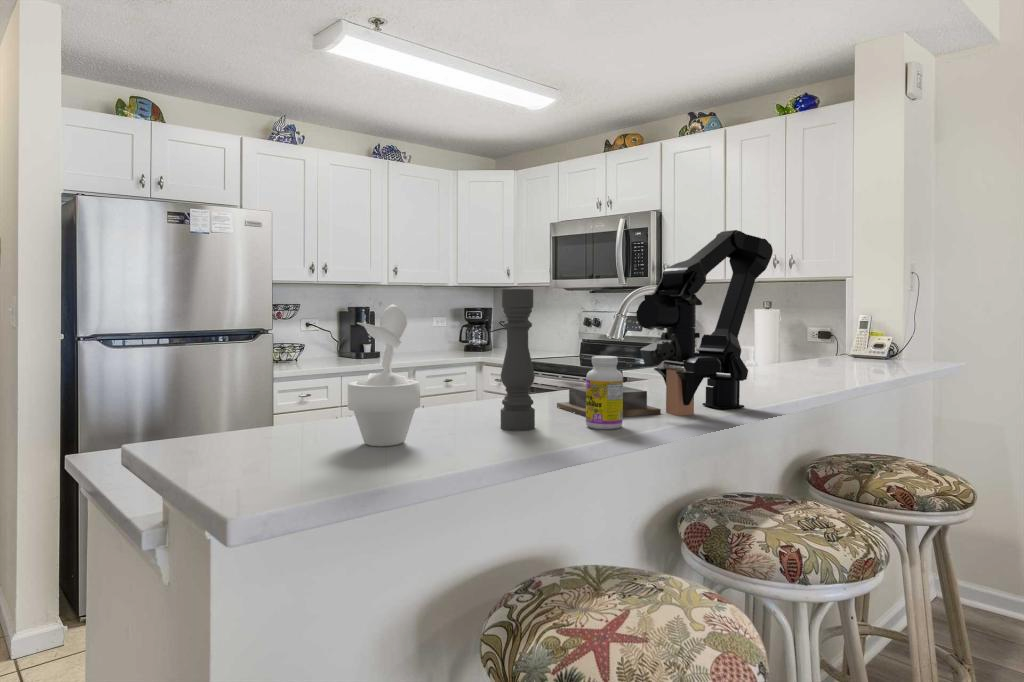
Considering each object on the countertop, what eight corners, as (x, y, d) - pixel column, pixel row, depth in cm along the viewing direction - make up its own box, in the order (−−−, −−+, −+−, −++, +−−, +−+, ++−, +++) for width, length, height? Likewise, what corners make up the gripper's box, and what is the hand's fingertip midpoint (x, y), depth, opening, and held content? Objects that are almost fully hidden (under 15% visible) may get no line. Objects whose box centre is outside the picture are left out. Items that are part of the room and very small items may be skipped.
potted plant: (379, 433, 113) (377, 288, 112) (434, 440, 108) (433, 287, 107) (326, 447, 102) (324, 286, 101) (385, 455, 97) (383, 285, 96)
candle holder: (540, 429, 117) (540, 289, 116) (508, 431, 115) (507, 288, 114) (526, 423, 123) (526, 290, 122) (495, 425, 121) (495, 289, 120)
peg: (682, 411, 138) (682, 368, 137) (693, 414, 134) (694, 370, 133) (665, 412, 136) (666, 369, 136) (677, 415, 132) (677, 371, 132)
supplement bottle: (579, 425, 121) (579, 356, 121) (609, 422, 124) (609, 355, 124) (598, 431, 115) (599, 358, 115) (630, 428, 118) (630, 357, 118)
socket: (620, 403, 150) (620, 383, 149) (660, 413, 135) (660, 391, 134) (556, 407, 144) (556, 386, 144) (590, 418, 129) (591, 395, 129)
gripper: (623, 327, 140) (622, 399, 141) (674, 329, 123) (673, 412, 123) (667, 326, 144) (666, 397, 145) (723, 328, 127) (721, 409, 127)
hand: (680, 403), depth 135 cm, fingers closed on peg, 4 cm apart
